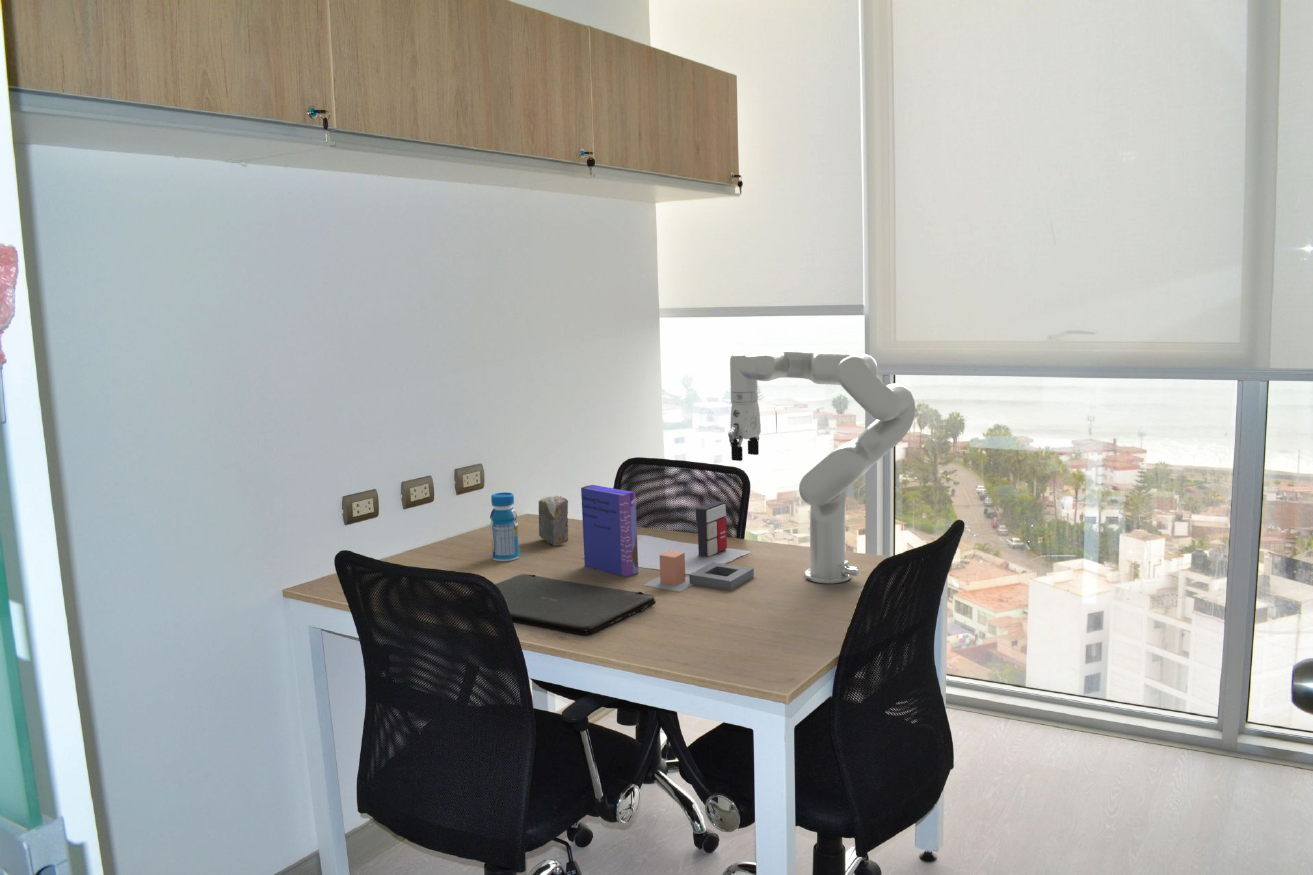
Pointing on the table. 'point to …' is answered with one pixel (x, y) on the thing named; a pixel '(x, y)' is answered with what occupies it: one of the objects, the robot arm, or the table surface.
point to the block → (672, 568)
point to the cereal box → (610, 530)
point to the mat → (656, 584)
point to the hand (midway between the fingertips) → (745, 457)
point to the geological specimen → (553, 520)
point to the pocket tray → (721, 576)
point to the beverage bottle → (504, 527)
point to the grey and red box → (711, 528)
